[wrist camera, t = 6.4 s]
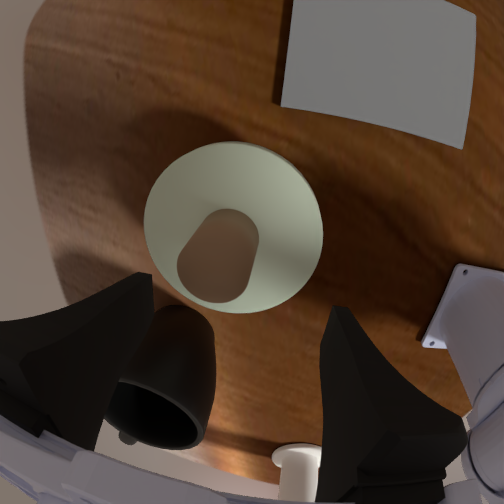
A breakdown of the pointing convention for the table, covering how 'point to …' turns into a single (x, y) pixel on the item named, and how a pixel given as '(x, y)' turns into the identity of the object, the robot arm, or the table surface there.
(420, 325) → the table surface
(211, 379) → the mug
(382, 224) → the table surface
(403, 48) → the mat
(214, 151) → the lid
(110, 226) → the table surface
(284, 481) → the candle
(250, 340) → the table surface
